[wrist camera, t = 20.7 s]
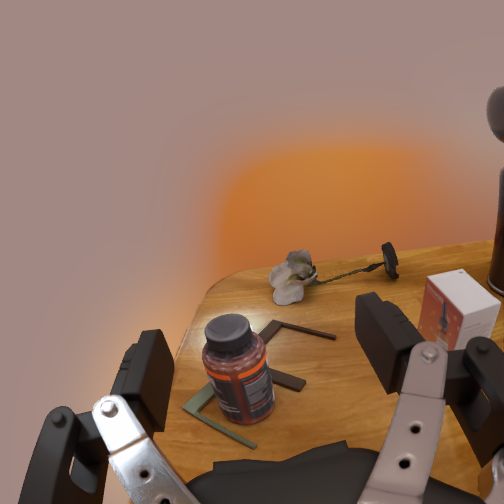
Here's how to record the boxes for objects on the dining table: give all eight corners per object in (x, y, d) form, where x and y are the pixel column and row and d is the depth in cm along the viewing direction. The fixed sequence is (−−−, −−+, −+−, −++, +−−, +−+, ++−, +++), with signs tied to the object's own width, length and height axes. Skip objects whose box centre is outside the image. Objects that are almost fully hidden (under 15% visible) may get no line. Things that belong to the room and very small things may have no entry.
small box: (412, 347, 32) (424, 274, 28) (447, 337, 32) (462, 266, 28) (437, 392, 25) (463, 315, 21) (475, 377, 24) (502, 301, 20)
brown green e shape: (273, 322, 43) (272, 319, 43) (336, 338, 37) (336, 335, 37) (182, 409, 29) (181, 406, 29) (254, 450, 24) (253, 447, 23)
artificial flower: (404, 295, 45) (409, 250, 39) (276, 322, 49) (260, 282, 43) (389, 260, 52) (389, 217, 46) (274, 285, 56) (260, 244, 50)
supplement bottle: (283, 391, 30) (271, 310, 26) (263, 432, 26) (244, 354, 21) (235, 381, 33) (214, 303, 29) (212, 418, 28) (180, 341, 24)
